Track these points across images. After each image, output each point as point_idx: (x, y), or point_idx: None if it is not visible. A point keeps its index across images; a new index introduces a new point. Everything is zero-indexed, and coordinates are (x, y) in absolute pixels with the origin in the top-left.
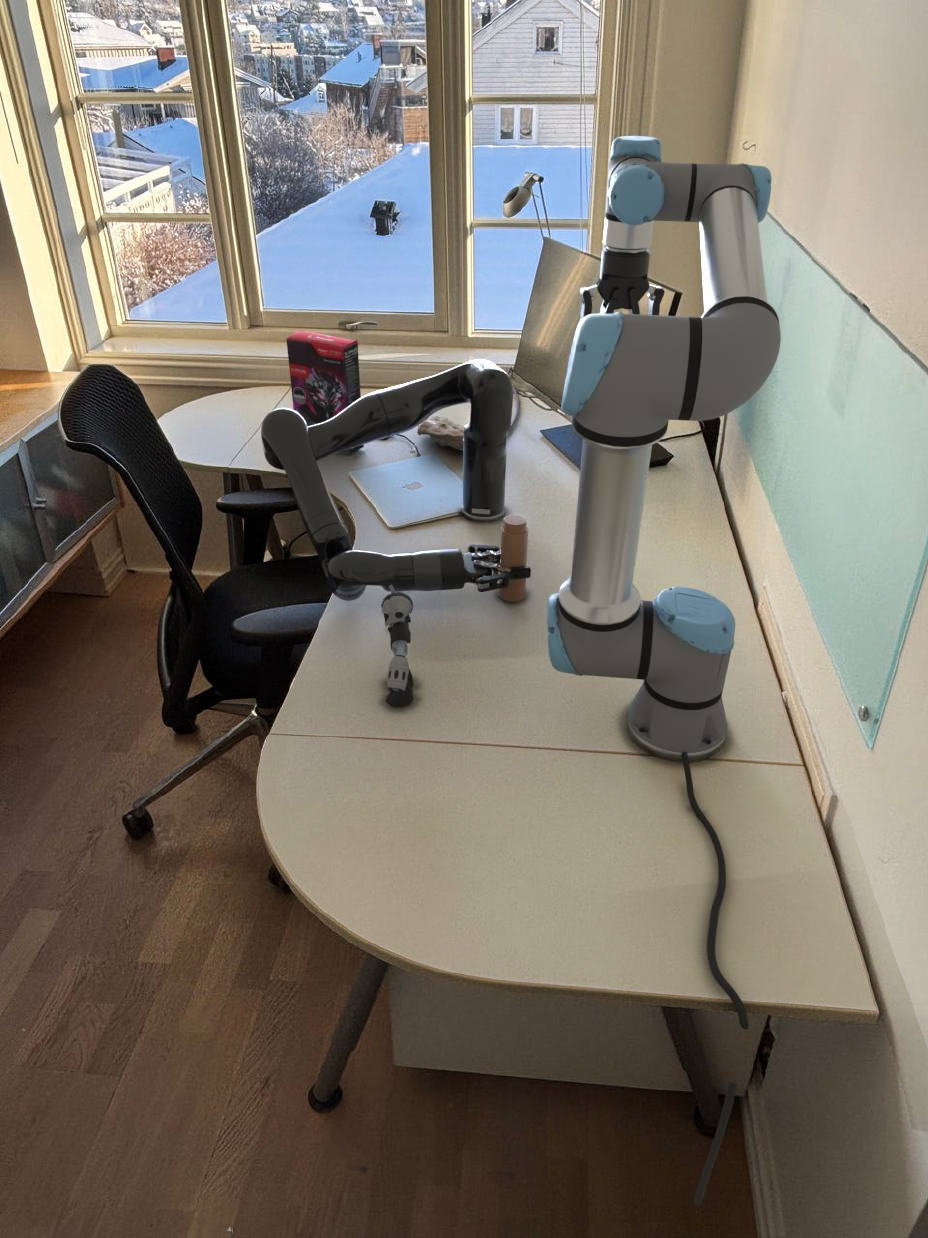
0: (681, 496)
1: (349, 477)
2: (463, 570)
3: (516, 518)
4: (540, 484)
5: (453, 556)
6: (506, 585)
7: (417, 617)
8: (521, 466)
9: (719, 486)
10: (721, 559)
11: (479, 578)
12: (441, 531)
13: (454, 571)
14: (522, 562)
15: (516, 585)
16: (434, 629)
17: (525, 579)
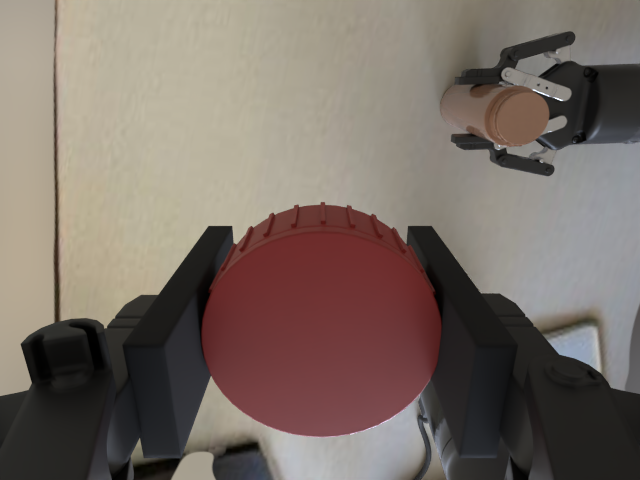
0: None
1: None
2: (596, 69)
3: (518, 124)
4: None
5: (622, 92)
6: (508, 47)
7: (635, 49)
8: (352, 476)
9: None
10: (89, 185)
11: (571, 42)
12: (520, 308)
13: (614, 68)
14: (477, 88)
15: None
16: (619, 6)
17: (452, 98)
